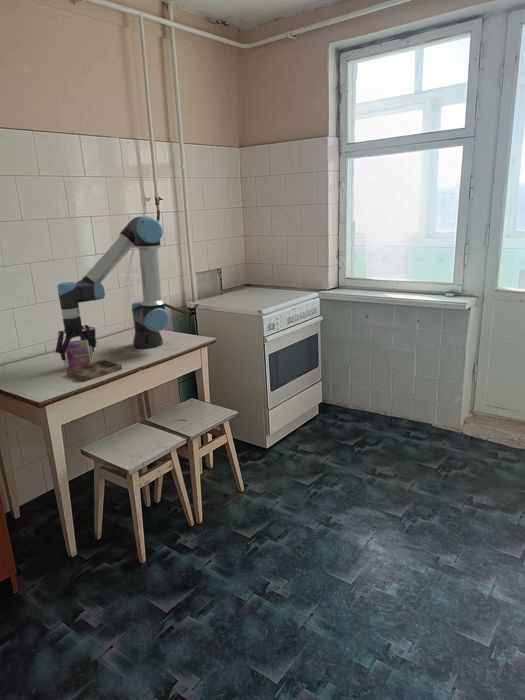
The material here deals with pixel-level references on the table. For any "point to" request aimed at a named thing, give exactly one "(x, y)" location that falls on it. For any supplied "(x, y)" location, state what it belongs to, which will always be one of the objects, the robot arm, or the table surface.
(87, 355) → the box
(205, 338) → the table surface
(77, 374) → the tray
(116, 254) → the robot arm
